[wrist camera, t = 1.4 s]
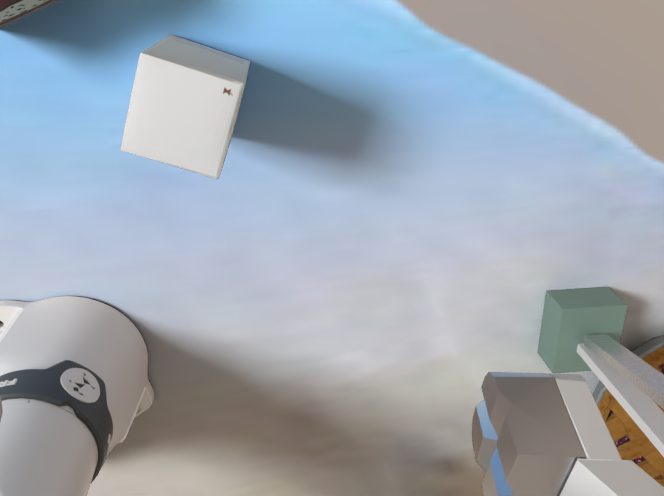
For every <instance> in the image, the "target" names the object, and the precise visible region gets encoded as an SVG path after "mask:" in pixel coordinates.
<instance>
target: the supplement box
mask: <svg viewBox="0 0 664 496" xmlns="http://www.w3.org/2000/svg"><path fill="white" fill-rule="evenodd" d="M249 66H250V61H248V60H245V59H242V58H239V57H236V56H233V55H230V54H228V53H225V52H222V51H219V50H216V49H213V48H210V47H207V46H204V45H201V44H198V43H195V42H192V41H189V40H186V39H183V38H180V37H177V36H174V35H168V36H167V37H165V38H163V39H162V40H160V41H159V42H157V43H156V44H154V45H153V46H151V47H150V48H148V49H147V50H145V51H143V52H142V53H140V57H139V61H138V65H137V70H136V75H135V79H134V84H133V89H132V94H131V99H130V104H129V109H128V114H127V119H126V124H125V129H124V134H123V139H122V145H121V150H122V151H125V152H128V153H132V154H135V155H139V156H142V157H146V158H150V159H153V160H156V161H159V162H163V163H166V164H169V165H172V166H176V167H179V168H182V169H185V170H188V171H192V172H195V173H198V174H201V175H204V176H208V177H211V178H214V179H218V178H219V176H220V174H221V171H222V168H223V164H224V161H225V158H226V154H227V151H228V148H229V144H230V141H231V137H232V134H233V130H234V127H235V123H236V120H237V116H238V112H239V108H240V104H241V100H242V96H243V92H244V88H245V84H246V79H247V75H248V70H249Z"/></svg>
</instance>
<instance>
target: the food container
mask: <svg viewBox="0 0 664 496" xmlns="http://www.w3.org/2000/svg"><path fill="white" fill-rule="evenodd" d="M57 1H59V0H0V28H1V27H3V26H6V25H8V24H10V23H12V22H14V21H16V20H18V19H21V18H23V17H25V16H27V15H29V14H31V13H33V12H35V11H38V10H40V9H42V8H44V7H46V6H48V5H50V4H52V3H55V2H57Z"/></svg>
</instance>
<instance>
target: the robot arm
mask: <svg viewBox="0 0 664 496" xmlns="http://www.w3.org/2000/svg"><path fill="white" fill-rule="evenodd" d="M0 321H2V322H3V323H4V324H0V496H87V494H88V490H89V487H90V484H91V483H92V481H93V480H94V479H95V478H96V476H97V475H98V473H99V471H100V469H101V467H102V466H103V464H104V462H105V460H106V457H107V455H108V453H110V452H111V451H112V449H113V448H114V446H115V445H116V444H118V443H122V442H123V441H124V440H125V438H126V437H127V434H128V432H129V429H130V427H131V425H132V422H133V420H134V418H135V417H137V416H138V415H140V414H141V413H143V412H144V411H146V410H147V409H149V408H150V407H151V405H152V403H153V401H154V392H153V389H152V386H151V384H150V382H149V380H148V375H147V371H148V353H147V348H146V345H145V342H144V340H143V338H142V336H141V334H140V332H139V331H138V329H137V328H136V327H135V326H134V324H133V323H132V322H131V321H130V320H129V319H128V318H127V317H125V316H124V315H123V314H122V313H120V312H119V311H117V310H116V309H114V308H112V307H110V306H108V305H106V304H104V303H101V302H99V301H96V300H92V299H88V298H83V297H75V296H61V297H53V298H48V299H44V300H40V301H35V302H22V301H12V300H4V301H0ZM481 388H482V392H483V396H484V400H483V401H481V402H480V403H479V404H477V405H476V408H475V412H474V416H473V421H472V442H473V449H474V454H475V459H476V462H477V463H478V464H479V465H480V466H481V467H482V468H483V469H484V470H485V471H486V474H485V477H484V480H483V483H482V490H483V494H484V496H664V487H663V486H662V485H660V484H659V483H658V482H657V481H656V480H654V479H653V478H652V477H651V476H650V475H648V474H647V473H646V472H645V471H644V470H642V469H641V468H640V467H639V466H638V465H636V464H635V463H634V462H633V461H632V460H622V458H621V456H620V454H619V452H618V450H617V447H616V445H615V443H614V441H613V439H612V437H611V434H610V432H609V430H608V428H607V426H606V424H605V421H604V419H603V417H602V415H601V413H600V411H599V408H598V406H597V404H596V402H595V400H594V398H593V395H592V393H591V391H590V389H589V387H588V385H587V382H586V380H585V379H584V378H583V377H582V376H581V375H573V374H546V373H511V372H488V374H487V375H486V376H485V378H484V381H483V384H482V387H481Z"/></svg>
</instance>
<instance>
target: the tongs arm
mask: <svg viewBox="0 0 664 496" xmlns="http://www.w3.org/2000/svg"><path fill="white" fill-rule="evenodd" d="M584 345H585V346H586V347H587V348H589V349H590V350H591V351H592V352H593V353H595V354H596V355H597V356H598V357H600V358H601V359H602V360H603V361H605V362H606V363H607V364H608V365H610V366H611V367H612V368H613V369H615V370H616V371H617V372H618V373H620V374H621V375H622V376H623V377H625V378H626V379H627V380H628V381H630V382H631V383H632V384H633V385H635V386H636V387H637V388H638V389H640V390H641V391H642V392H643V393H645V394H646V395H647V396H648V397H649V398H651V399H652V400H653V401H654V402H656V403H657V404H658V405H659V406H661V407H662V408H663V409H664V375H663V374H662V373H660V372H659V371H657V370H656V369H655V368H653V367H652V366H650V365H649V364H648V363H646V362H645V361H643V360H642V359H641V358H639V357H638V356H636V355H635V354H634V353H632V352H631V351H630V350H628V349H627V348H625V347H624V346H623V345H621V344H620V343H618V342H617V341H616V340H614V339H613V338H611V337H610V336H609V335H607V334H601V335H588V336H584Z"/></svg>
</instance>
